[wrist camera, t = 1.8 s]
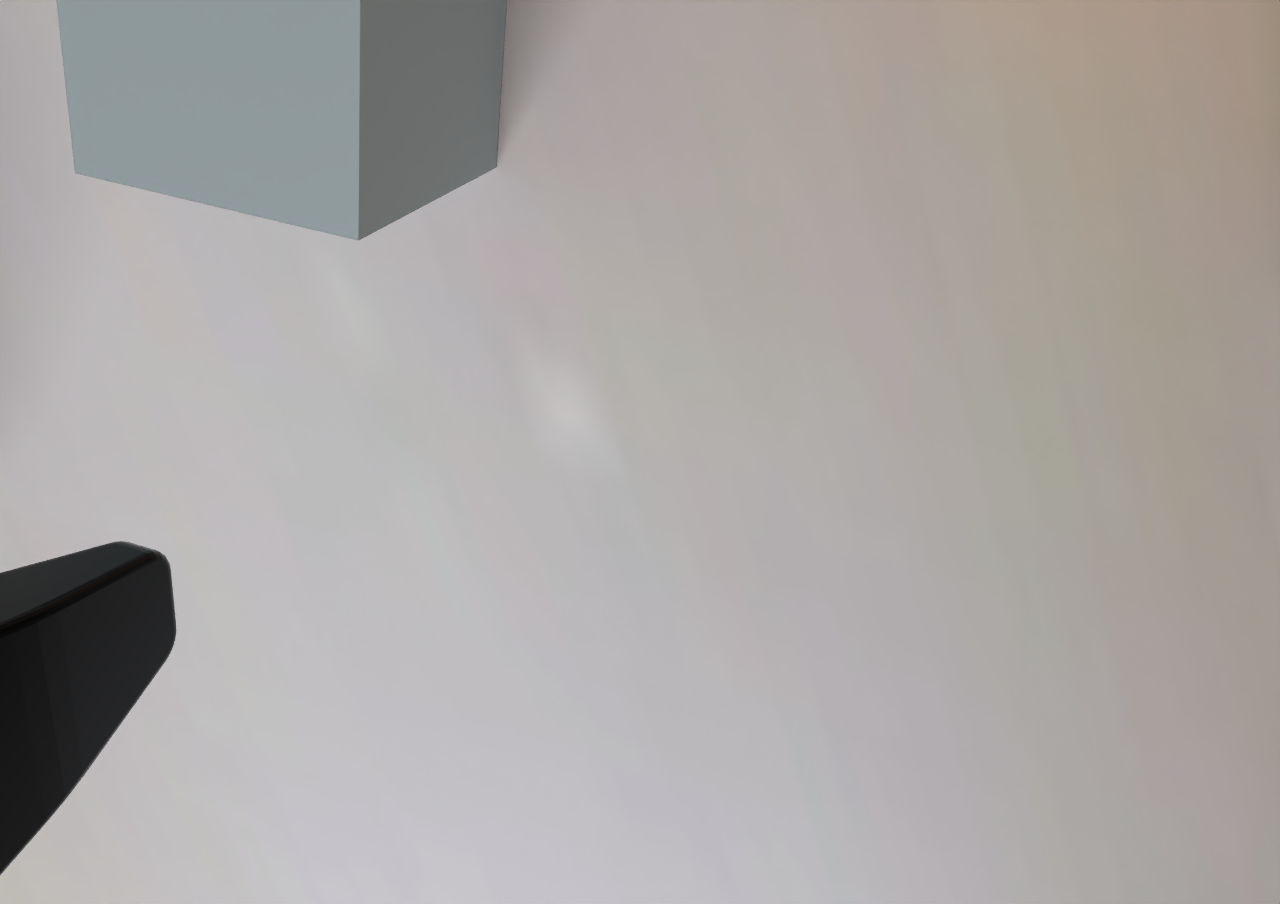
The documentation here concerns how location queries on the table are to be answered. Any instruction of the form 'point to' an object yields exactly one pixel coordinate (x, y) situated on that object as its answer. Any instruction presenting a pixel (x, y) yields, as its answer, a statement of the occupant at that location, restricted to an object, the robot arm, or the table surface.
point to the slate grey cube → (287, 102)
